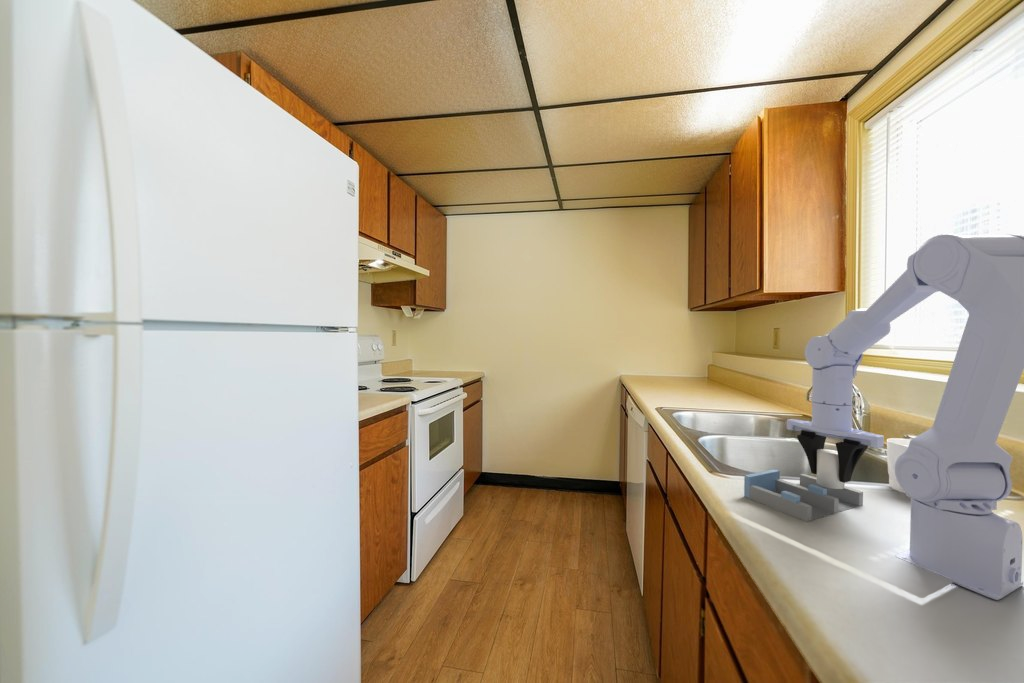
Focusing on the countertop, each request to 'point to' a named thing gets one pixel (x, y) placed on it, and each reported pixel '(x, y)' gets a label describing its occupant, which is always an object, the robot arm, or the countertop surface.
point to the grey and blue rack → (799, 495)
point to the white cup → (895, 459)
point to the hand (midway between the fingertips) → (830, 477)
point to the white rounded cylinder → (828, 469)
